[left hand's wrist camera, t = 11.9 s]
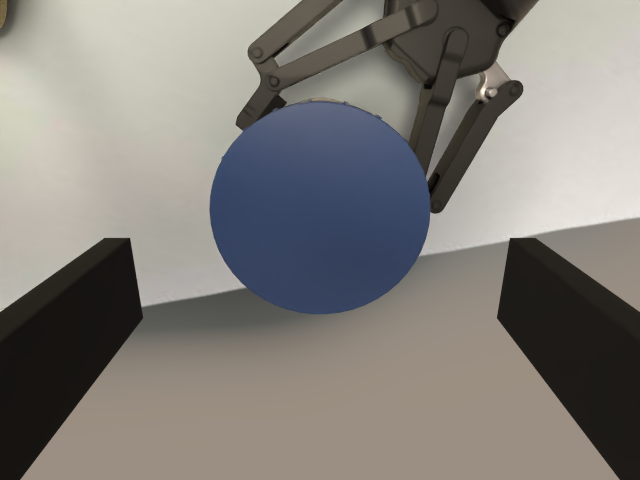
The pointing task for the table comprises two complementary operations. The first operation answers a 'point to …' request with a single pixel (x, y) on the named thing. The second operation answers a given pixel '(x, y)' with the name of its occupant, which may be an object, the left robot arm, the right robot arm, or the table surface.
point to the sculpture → (3, 11)
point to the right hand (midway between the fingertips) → (281, 217)
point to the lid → (320, 207)
